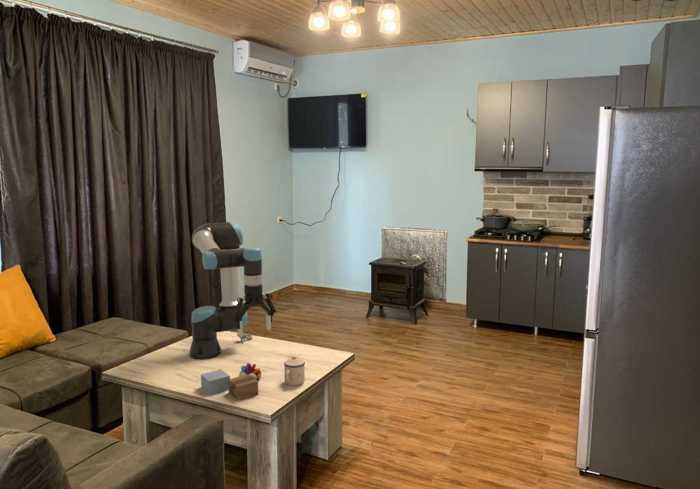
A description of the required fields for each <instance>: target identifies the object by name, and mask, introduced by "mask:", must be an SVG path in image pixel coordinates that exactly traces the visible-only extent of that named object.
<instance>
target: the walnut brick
mask: <svg viewBox="0 0 700 489" xmlns="http://www.w3.org/2000/svg"><path fill="white" fill-rule="evenodd" d="M228 383H229V389H228V393H229V394H230V395H231V397H233V398H235V399H236V401H241V400H244V399H249V398H251V397H255V396H258V395H259V381H258V379H256V380H255V379H254V378H253V377H251V376H250V375H249V374H248V375H244V376H240V377H239V376H237V377H233V378H230V379H228Z"/></svg>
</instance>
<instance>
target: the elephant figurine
mask: <svg viewBox="0 0 700 489" xmlns="http://www.w3.org/2000/svg"><path fill="white" fill-rule="evenodd" d="M242 335H243V337H240V336H238V333H236V336H237V337H238V338H239V339H240V341H241V344H244V340H246V339H247V340H252V339H253V337H252V336H253V334H247V333H245V332H244V331H242Z"/></svg>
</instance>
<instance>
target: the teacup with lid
mask: <svg viewBox="0 0 700 489" xmlns="http://www.w3.org/2000/svg"><path fill="white" fill-rule="evenodd" d="M284 360H285V359H284ZM305 364H306V361H305V360H304V359H302V358H300V357H297V355H292V356H291V357H290V358H287V359H286V360H285V361H284V362H283V365H284V368H283V369H284V382H285V384H286V385H289V386H299V385H300V386H301V385H302V384H304V382H305V381H306V380H305V378H306V377H305Z"/></svg>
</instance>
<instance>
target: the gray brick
mask: <svg viewBox="0 0 700 489" xmlns="http://www.w3.org/2000/svg"><path fill="white" fill-rule="evenodd" d="M228 379H231V376H230V375H229V374H228V373H227V372H225V371H224V370H223V369H217V370H213V371H209V372H205V373H204V372H203V373H201V374H200V386H201V389H202V390H204V391H205V392H206V393H207V394H209V395H213V394H217V393H221V392H224V391H229V383H228Z"/></svg>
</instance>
